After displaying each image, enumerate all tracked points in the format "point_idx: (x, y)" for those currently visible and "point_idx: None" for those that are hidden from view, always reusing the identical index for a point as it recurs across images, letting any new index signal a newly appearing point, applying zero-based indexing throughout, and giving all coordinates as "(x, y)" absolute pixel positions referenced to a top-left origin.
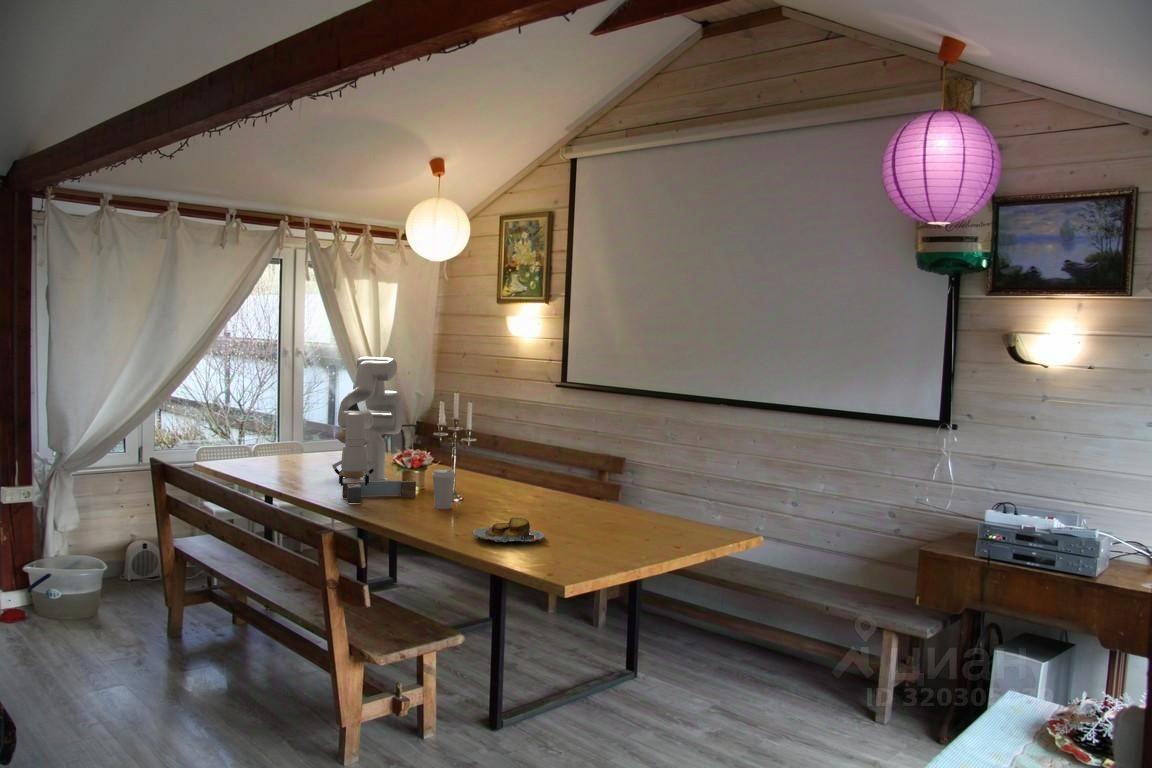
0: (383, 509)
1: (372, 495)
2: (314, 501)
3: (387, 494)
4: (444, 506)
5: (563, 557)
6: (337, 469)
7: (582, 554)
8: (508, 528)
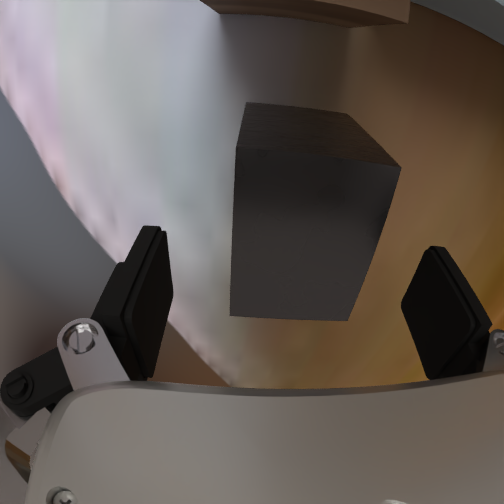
0: (382, 340)
1: (469, 25)
2: (29, 102)
3: None
4: None
5: None
6: (36, 414)
7: None
8: None
